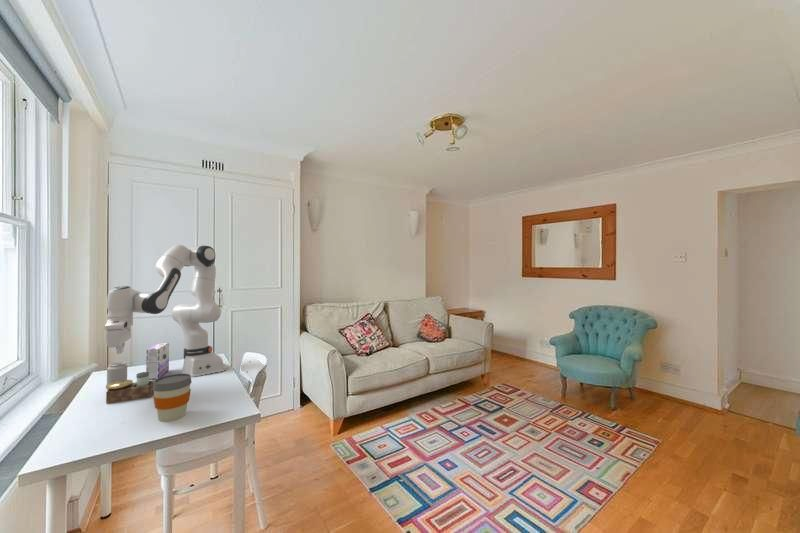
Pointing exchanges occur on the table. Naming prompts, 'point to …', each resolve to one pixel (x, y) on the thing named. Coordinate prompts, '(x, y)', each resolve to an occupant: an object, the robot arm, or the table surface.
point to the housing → (129, 393)
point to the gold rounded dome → (119, 384)
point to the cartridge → (142, 379)
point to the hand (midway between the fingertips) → (120, 352)
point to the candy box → (157, 360)
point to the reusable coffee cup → (171, 396)
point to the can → (116, 372)
